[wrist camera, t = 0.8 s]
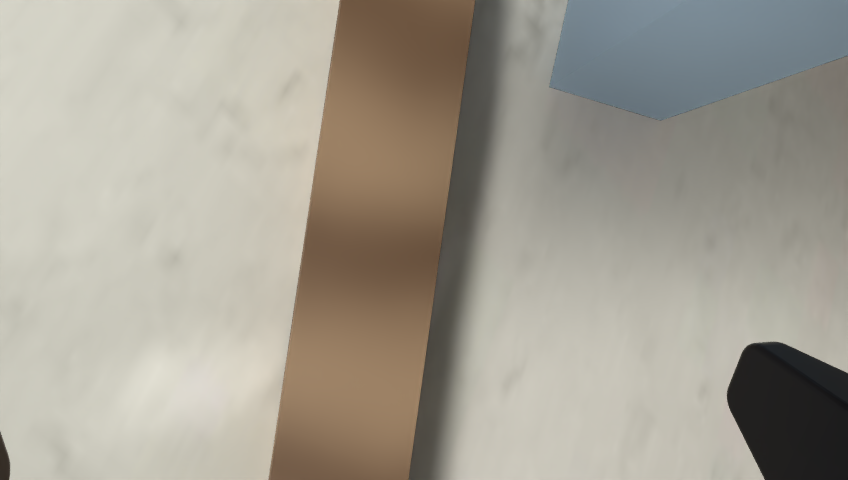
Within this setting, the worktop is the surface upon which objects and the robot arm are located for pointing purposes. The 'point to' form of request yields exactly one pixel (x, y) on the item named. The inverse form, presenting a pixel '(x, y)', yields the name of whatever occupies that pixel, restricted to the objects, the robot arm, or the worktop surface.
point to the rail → (372, 241)
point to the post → (691, 49)
